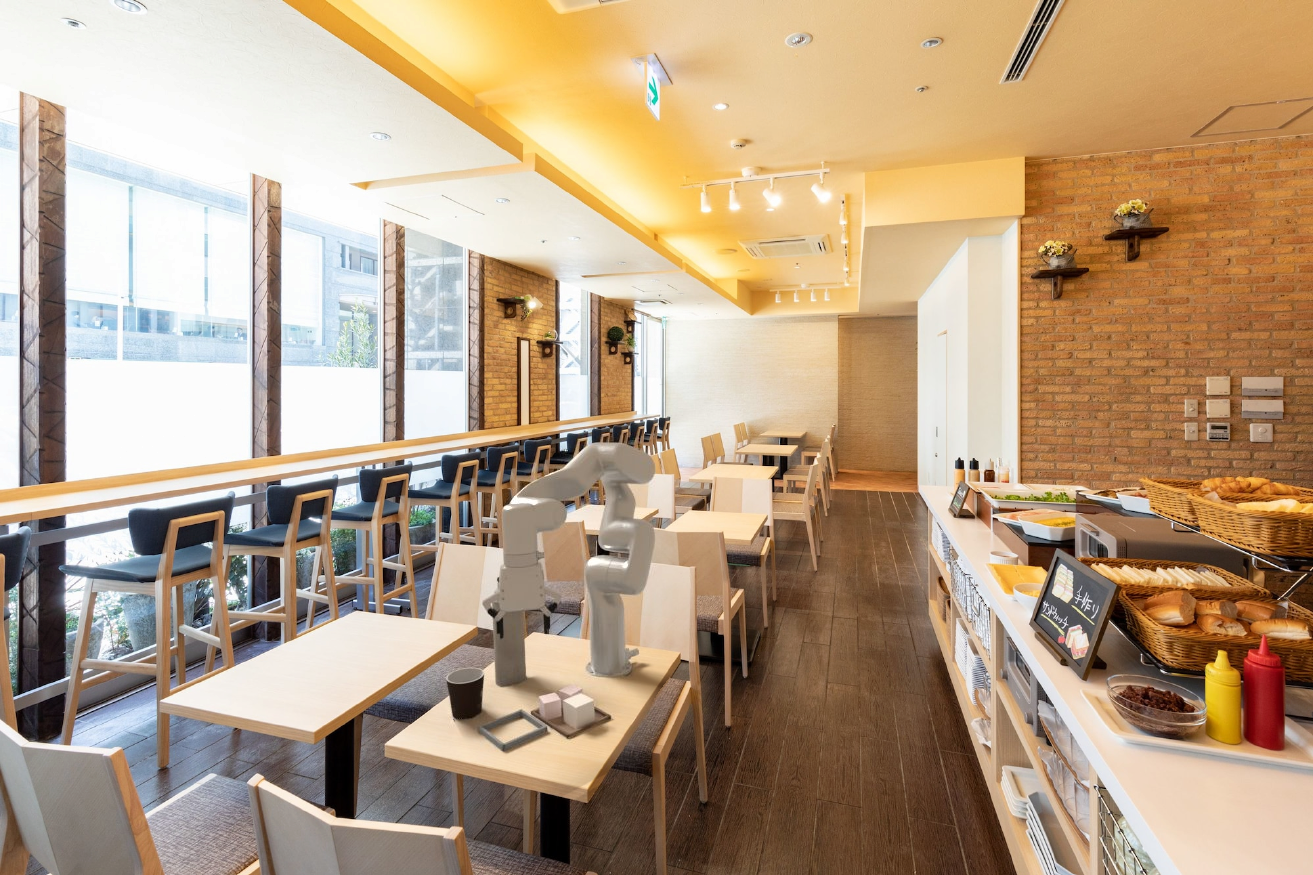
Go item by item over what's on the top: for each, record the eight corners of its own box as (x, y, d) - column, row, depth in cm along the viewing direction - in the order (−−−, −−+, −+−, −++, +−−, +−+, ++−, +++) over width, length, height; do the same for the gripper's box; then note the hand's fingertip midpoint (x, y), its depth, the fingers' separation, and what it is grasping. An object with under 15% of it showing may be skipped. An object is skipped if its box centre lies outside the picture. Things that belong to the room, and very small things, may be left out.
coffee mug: (475, 727, 145) (473, 684, 145) (441, 724, 147) (438, 682, 147) (497, 702, 157) (496, 663, 156) (465, 700, 159) (463, 661, 158)
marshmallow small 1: (571, 700, 155) (570, 684, 155) (583, 704, 153) (582, 688, 152) (559, 706, 152) (558, 690, 152) (571, 711, 149) (570, 695, 149)
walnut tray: (573, 700, 157) (572, 694, 157) (611, 722, 146) (610, 715, 146) (530, 718, 149) (530, 711, 149) (567, 742, 138) (567, 735, 138)
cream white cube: (581, 713, 148) (581, 692, 148) (594, 721, 145) (594, 700, 144) (563, 721, 145) (563, 700, 145) (576, 729, 141) (575, 707, 141)
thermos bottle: (505, 672, 174) (500, 571, 173) (531, 675, 172) (527, 573, 170) (489, 685, 167) (485, 580, 165) (516, 688, 164) (512, 581, 163)
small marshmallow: (555, 708, 151) (555, 692, 151) (561, 716, 147) (560, 699, 147) (539, 713, 149) (538, 696, 149) (544, 720, 146) (544, 703, 145)
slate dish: (521, 718, 149) (521, 709, 149) (547, 735, 141) (547, 726, 141) (478, 736, 142) (477, 726, 141) (503, 755, 133) (502, 745, 133)
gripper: (559, 552, 147) (561, 624, 148) (481, 558, 144) (485, 632, 145) (561, 560, 140) (563, 636, 141) (479, 566, 136) (483, 644, 137)
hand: (523, 634), depth 143 cm, fingers open, 9 cm apart
